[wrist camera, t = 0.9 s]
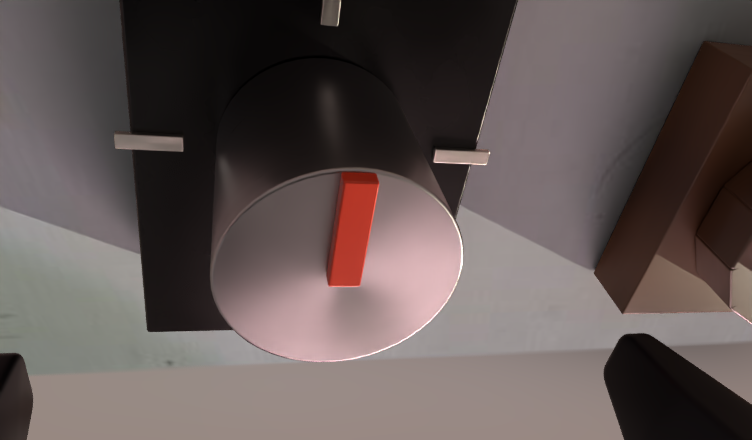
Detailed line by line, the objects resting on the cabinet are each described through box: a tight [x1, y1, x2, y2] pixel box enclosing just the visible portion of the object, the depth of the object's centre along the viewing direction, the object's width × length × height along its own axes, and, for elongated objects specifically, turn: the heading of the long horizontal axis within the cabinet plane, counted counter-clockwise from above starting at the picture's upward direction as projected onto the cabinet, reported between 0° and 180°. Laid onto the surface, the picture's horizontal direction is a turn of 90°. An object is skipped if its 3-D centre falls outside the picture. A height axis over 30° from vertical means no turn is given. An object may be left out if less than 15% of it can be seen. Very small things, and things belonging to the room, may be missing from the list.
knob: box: [210, 58, 463, 362], centre depth 12 cm, size 4×4×5 cm
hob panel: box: [114, 0, 518, 332], centre depth 15 cm, size 12×9×3 cm
